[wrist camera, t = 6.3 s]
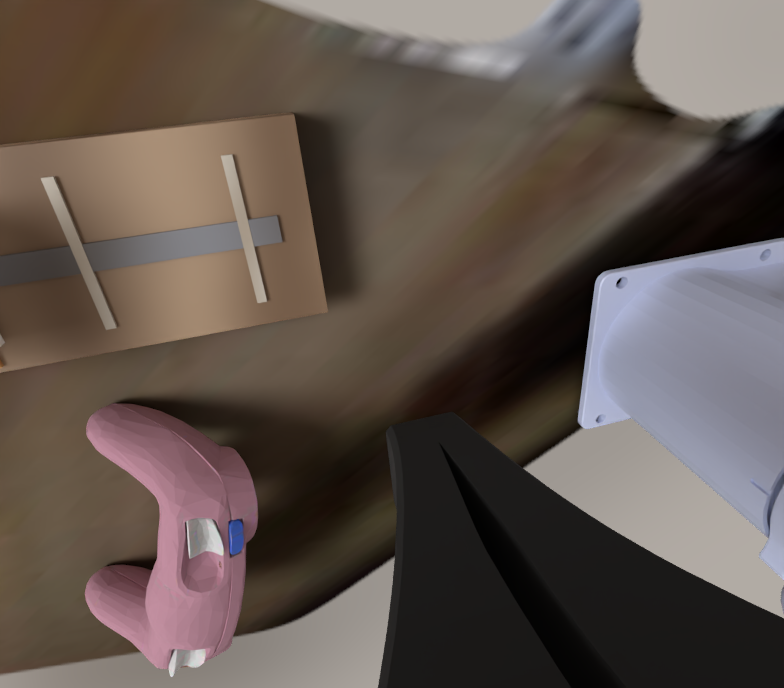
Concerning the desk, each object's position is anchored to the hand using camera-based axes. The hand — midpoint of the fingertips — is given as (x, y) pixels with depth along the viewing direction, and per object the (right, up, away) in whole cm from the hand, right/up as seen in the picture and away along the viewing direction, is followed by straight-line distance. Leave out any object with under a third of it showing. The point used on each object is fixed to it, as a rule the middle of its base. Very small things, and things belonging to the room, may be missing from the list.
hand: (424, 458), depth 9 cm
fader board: (-10, +5, +5) cm, 12 cm away
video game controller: (-10, -4, +11) cm, 15 cm away
